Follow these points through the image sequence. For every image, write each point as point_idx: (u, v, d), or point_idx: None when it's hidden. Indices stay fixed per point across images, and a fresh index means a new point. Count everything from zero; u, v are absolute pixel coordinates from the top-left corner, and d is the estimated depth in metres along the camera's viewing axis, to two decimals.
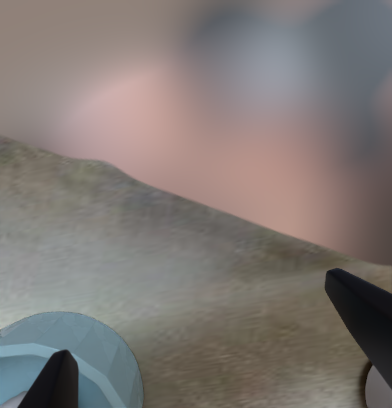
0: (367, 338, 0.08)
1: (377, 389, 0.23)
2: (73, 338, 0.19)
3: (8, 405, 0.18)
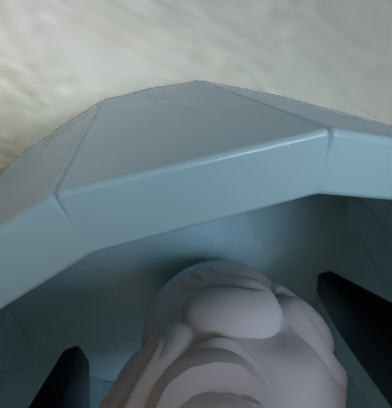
0: (357, 341, 0.08)
1: None
2: None
3: (255, 315, 0.06)
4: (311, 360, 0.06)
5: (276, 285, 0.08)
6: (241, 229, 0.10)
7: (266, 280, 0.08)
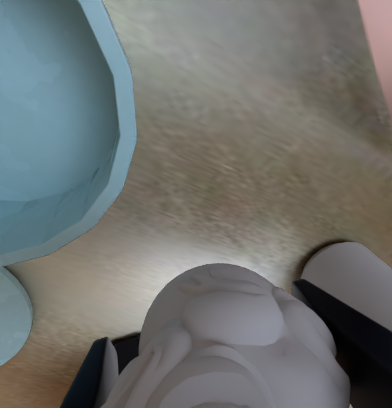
0: None
1: (328, 262, 0.24)
2: None
3: (256, 321, 0.06)
4: (312, 368, 0.06)
5: (277, 289, 0.08)
6: (12, 39, 0.13)
7: (266, 284, 0.08)
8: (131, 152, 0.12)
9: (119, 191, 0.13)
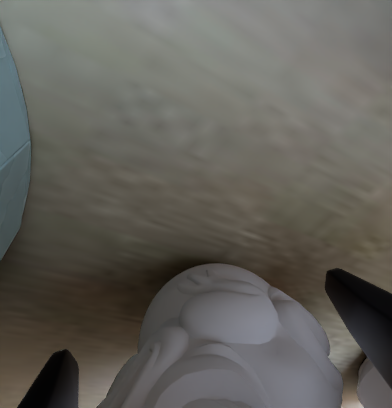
0: (367, 338, 0.08)
1: None
2: None
3: (250, 321, 0.06)
4: (306, 366, 0.06)
5: (273, 289, 0.08)
6: None
7: (263, 284, 0.08)
8: None
9: None
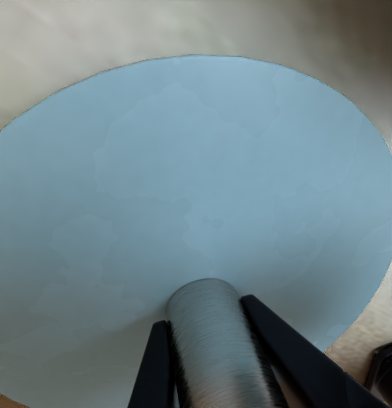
0: None
1: None
2: None
3: None
4: None
5: None
6: None
7: None
8: None
9: None
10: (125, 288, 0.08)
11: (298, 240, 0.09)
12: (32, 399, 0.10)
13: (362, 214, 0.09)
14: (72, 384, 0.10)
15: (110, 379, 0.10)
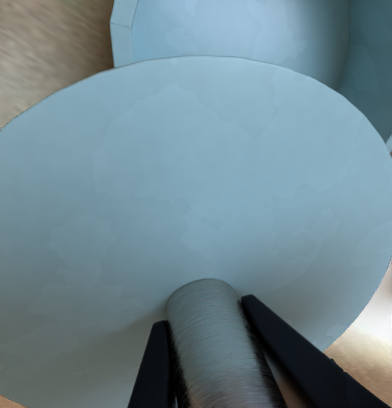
0: None
1: None
2: None
3: None
4: None
5: None
6: (280, 17, 0.15)
7: None
8: None
9: (390, 151, 0.14)
10: (124, 288, 0.08)
11: (297, 240, 0.09)
12: (31, 399, 0.10)
13: (361, 214, 0.09)
14: (71, 384, 0.10)
15: (110, 379, 0.10)
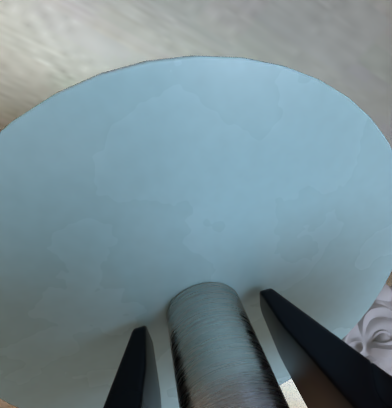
0: (291, 363, 0.08)
1: None
2: None
3: (386, 292, 0.16)
4: None
5: None
6: None
7: None
8: None
9: None
10: (125, 292, 0.08)
11: (300, 243, 0.09)
12: (31, 403, 0.10)
13: (365, 217, 0.09)
14: (72, 388, 0.10)
15: (110, 383, 0.10)
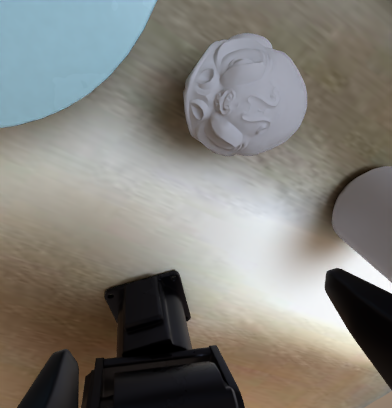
0: (367, 338, 0.08)
1: (368, 185, 0.21)
2: None
3: (260, 37, 0.13)
4: (285, 55, 0.13)
5: None
6: None
7: None
8: None
9: None
10: None
11: None
12: None
13: None
14: None
15: None
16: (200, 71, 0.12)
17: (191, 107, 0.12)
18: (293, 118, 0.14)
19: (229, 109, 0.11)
